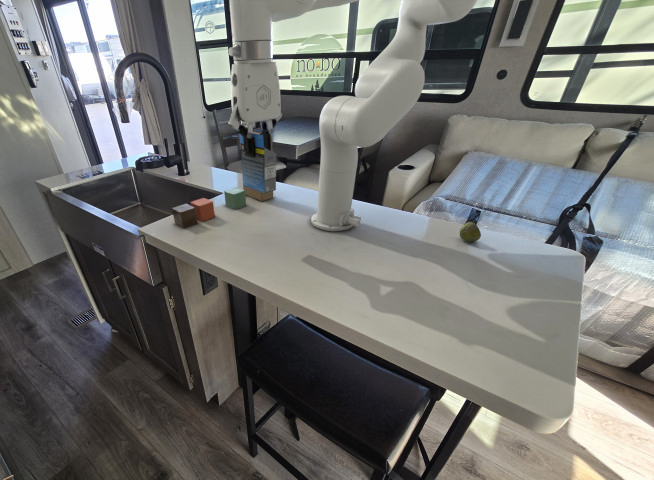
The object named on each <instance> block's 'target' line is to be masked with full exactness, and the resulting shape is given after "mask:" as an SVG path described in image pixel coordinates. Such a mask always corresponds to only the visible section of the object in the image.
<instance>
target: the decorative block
mask: <svg viewBox="0 0 654 480" xmlns="http://www.w3.org/2000/svg"><path fill="white" fill-rule="evenodd" d="M253 133H254V134H259V135H260V133H261V132H256V131H253ZM238 138H239V140H240V134H239V135H238ZM239 149H240V150H241V144H240V143H239ZM271 151H273V136H272V135H271ZM242 190H245V194H246V196H248V197H250V198H252V199H255V200H257V201H260V202H265V201H268V200H270V199H273V198H274V191H272V192H268V193H263V192H260V191H258V190H255V189H252V188H249V187H246V186H243V185H242Z"/></svg>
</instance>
